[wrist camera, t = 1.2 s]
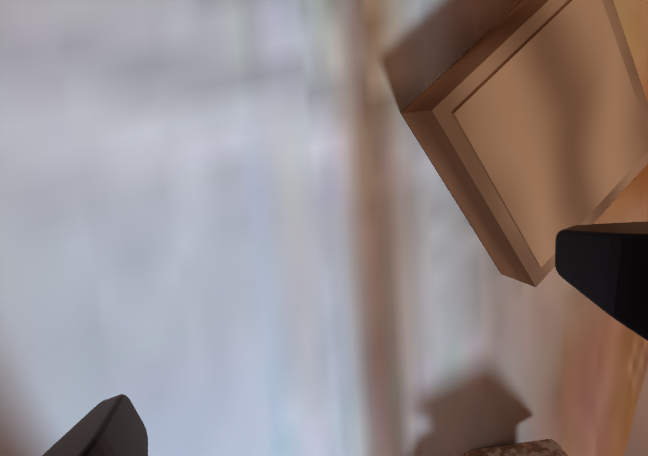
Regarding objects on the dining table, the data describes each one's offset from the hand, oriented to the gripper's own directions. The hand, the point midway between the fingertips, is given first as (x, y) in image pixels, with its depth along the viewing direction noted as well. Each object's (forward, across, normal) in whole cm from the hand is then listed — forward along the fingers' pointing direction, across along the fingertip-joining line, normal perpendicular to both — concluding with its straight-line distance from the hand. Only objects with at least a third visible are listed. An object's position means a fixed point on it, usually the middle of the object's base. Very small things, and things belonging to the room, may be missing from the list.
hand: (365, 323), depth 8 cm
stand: (+14, +15, -3) cm, 21 cm away
